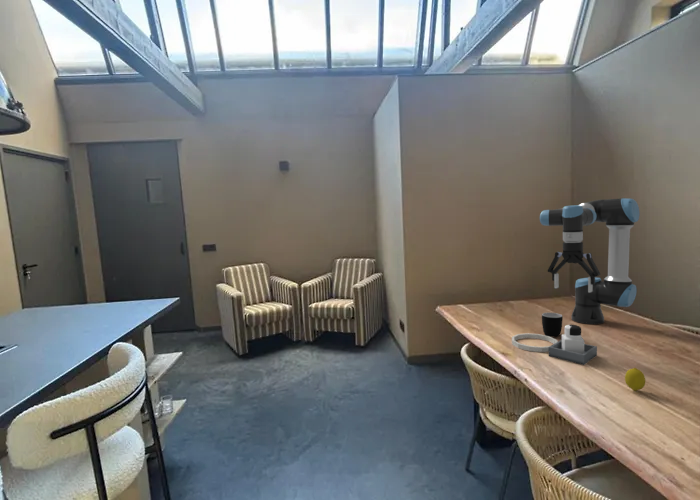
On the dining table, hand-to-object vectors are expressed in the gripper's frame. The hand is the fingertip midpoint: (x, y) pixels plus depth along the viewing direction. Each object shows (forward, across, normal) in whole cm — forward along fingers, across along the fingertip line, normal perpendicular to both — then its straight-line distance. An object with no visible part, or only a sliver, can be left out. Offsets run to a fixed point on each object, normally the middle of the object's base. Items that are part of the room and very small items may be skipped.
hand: (572, 289), depth 169 cm
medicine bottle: (+25, +4, -10) cm, 27 cm away
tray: (+26, +4, -10) cm, 28 cm away
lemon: (+26, +30, -29) cm, 49 cm away
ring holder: (+26, -14, -7) cm, 30 cm away
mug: (+27, -15, +12) cm, 33 cm away
